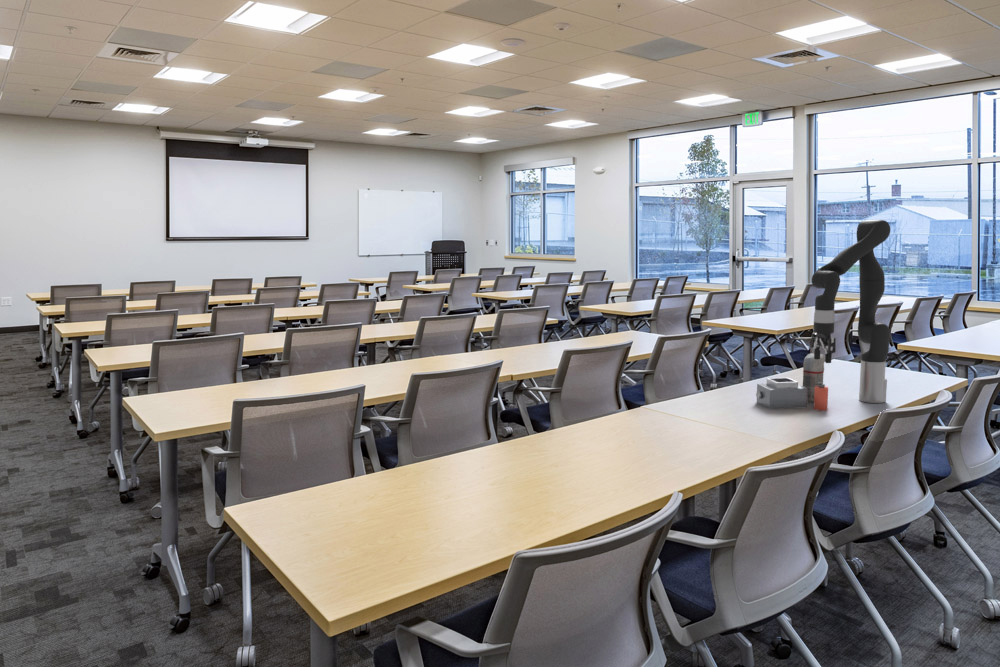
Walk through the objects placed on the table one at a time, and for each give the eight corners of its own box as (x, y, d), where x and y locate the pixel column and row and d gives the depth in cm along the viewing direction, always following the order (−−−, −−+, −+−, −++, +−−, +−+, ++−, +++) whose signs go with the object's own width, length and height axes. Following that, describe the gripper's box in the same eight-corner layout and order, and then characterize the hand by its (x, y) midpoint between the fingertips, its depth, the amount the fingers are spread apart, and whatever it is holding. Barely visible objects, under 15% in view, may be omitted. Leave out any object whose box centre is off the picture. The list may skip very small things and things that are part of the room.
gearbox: (793, 400, 303) (793, 376, 301) (807, 407, 291) (808, 382, 290) (753, 402, 302) (754, 378, 300) (766, 409, 290) (767, 384, 288)
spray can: (826, 402, 298) (828, 355, 295) (806, 403, 298) (808, 356, 296) (817, 397, 307) (819, 352, 304) (798, 398, 307) (800, 352, 304)
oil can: (823, 407, 291) (824, 380, 289) (829, 410, 286) (830, 383, 285) (811, 407, 291) (812, 381, 289) (817, 410, 286) (818, 383, 284)
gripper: (843, 323, 277) (841, 364, 279) (823, 318, 291) (822, 357, 293) (824, 323, 276) (822, 364, 278) (806, 319, 290) (804, 358, 292)
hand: (822, 361), depth 286 cm, fingers open, 8 cm apart
